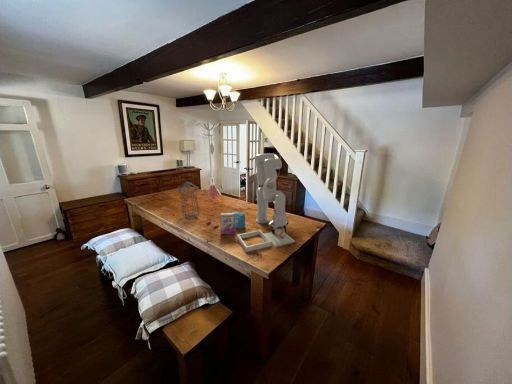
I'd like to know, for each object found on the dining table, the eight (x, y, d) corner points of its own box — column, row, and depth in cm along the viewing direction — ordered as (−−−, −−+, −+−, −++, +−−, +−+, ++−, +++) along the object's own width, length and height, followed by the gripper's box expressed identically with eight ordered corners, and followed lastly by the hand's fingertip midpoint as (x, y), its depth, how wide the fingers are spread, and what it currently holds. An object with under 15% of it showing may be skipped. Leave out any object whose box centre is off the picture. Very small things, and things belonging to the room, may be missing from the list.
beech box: (278, 240, 142) (278, 229, 140) (273, 235, 149) (273, 225, 147) (284, 238, 144) (284, 228, 142) (278, 233, 151) (279, 224, 149)
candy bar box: (220, 234, 153) (219, 215, 148) (221, 231, 158) (220, 212, 153) (235, 234, 153) (234, 215, 149) (235, 231, 158) (234, 212, 154)
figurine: (216, 230, 159) (215, 189, 150) (200, 221, 176) (198, 183, 167) (231, 225, 170) (231, 185, 160) (214, 216, 187) (213, 180, 178)
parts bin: (237, 238, 147) (237, 234, 146) (259, 234, 154) (259, 230, 153) (246, 251, 131) (246, 247, 130) (271, 245, 138) (271, 241, 137)
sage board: (263, 235, 152) (263, 233, 151) (281, 231, 158) (281, 229, 158) (275, 247, 136) (275, 245, 136) (294, 242, 142) (294, 240, 142)
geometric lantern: (202, 218, 184) (199, 181, 173) (186, 222, 174) (181, 185, 164) (195, 212, 195) (192, 178, 185) (180, 217, 186) (175, 181, 175)
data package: (231, 225, 168) (230, 212, 165) (234, 223, 172) (233, 210, 169) (242, 229, 162) (241, 215, 159) (245, 227, 166) (245, 214, 162)
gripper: (271, 214, 134) (270, 236, 139) (292, 210, 141) (291, 232, 146) (266, 210, 141) (266, 232, 145) (287, 207, 147) (286, 227, 152)
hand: (278, 232), depth 146 cm, fingers open, 9 cm apart
